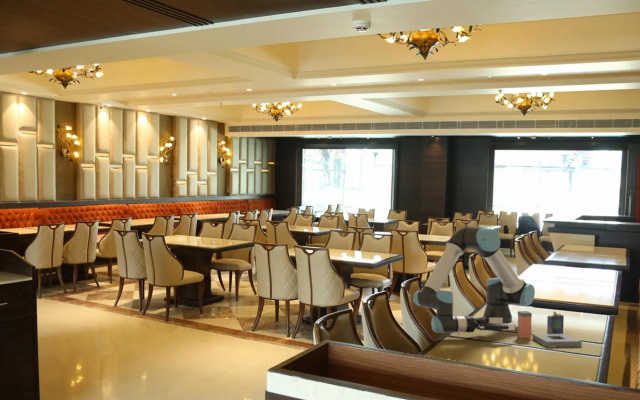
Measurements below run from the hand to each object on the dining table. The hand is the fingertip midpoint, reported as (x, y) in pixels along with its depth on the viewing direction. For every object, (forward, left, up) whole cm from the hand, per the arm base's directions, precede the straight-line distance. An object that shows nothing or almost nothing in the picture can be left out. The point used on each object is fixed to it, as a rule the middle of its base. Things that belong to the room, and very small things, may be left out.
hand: (508, 323), depth 265 cm
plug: (0, +8, -7) cm, 11 cm away
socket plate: (+11, +18, -7) cm, 22 cm away
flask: (-7, +27, -7) cm, 29 cm away
